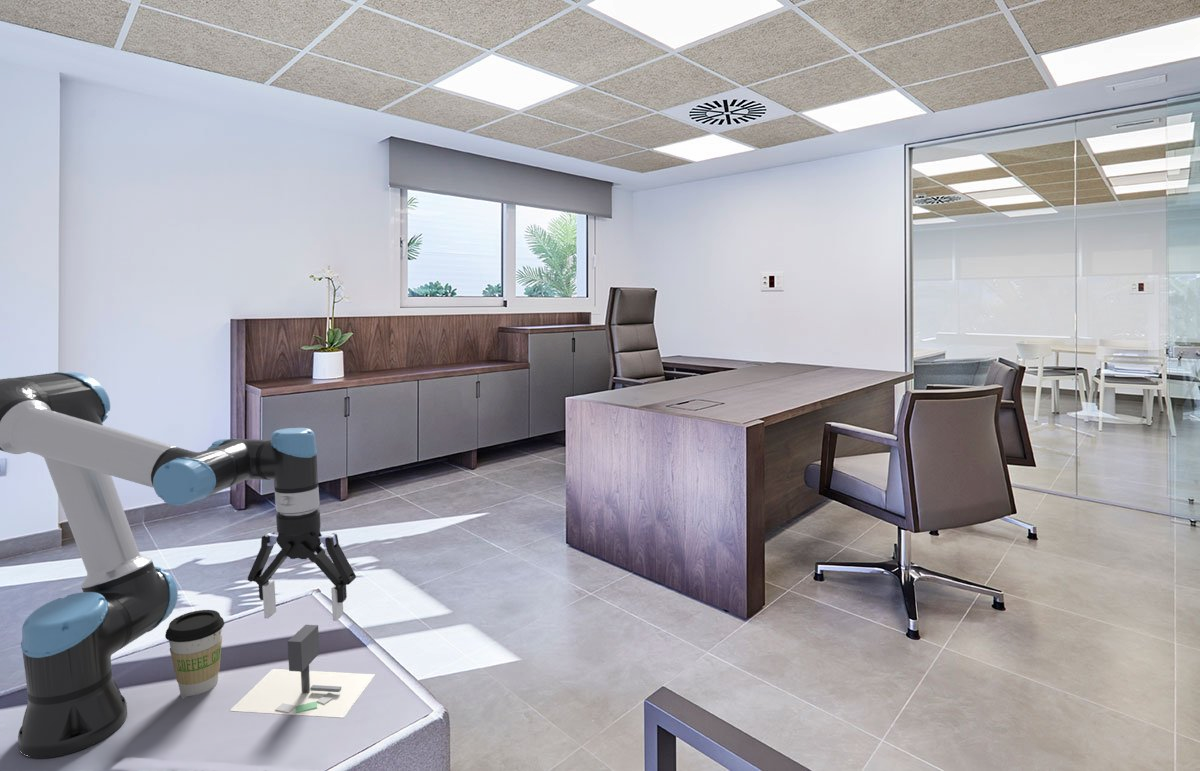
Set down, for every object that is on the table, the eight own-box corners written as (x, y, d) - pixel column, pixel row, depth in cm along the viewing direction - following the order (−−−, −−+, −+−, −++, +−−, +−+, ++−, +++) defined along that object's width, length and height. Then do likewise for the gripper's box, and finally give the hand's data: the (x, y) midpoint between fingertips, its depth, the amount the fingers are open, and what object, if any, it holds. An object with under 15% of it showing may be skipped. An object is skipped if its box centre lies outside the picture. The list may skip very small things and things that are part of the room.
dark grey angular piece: (290, 700, 122) (287, 641, 120) (308, 680, 128) (305, 624, 127) (332, 702, 121) (330, 643, 120) (347, 683, 128) (345, 626, 126)
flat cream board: (229, 716, 119) (229, 709, 119) (272, 674, 133) (272, 667, 133) (343, 723, 118) (343, 716, 117) (375, 679, 131) (375, 673, 131)
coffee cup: (200, 709, 121) (195, 635, 119) (157, 702, 123) (151, 629, 121) (239, 680, 131) (235, 611, 129) (198, 674, 132) (193, 605, 131)
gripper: (222, 514, 118) (230, 623, 120) (352, 518, 116) (358, 628, 119) (247, 502, 125) (254, 605, 128) (370, 505, 123) (375, 609, 126)
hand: (304, 616), depth 123 cm, fingers open, 13 cm apart
